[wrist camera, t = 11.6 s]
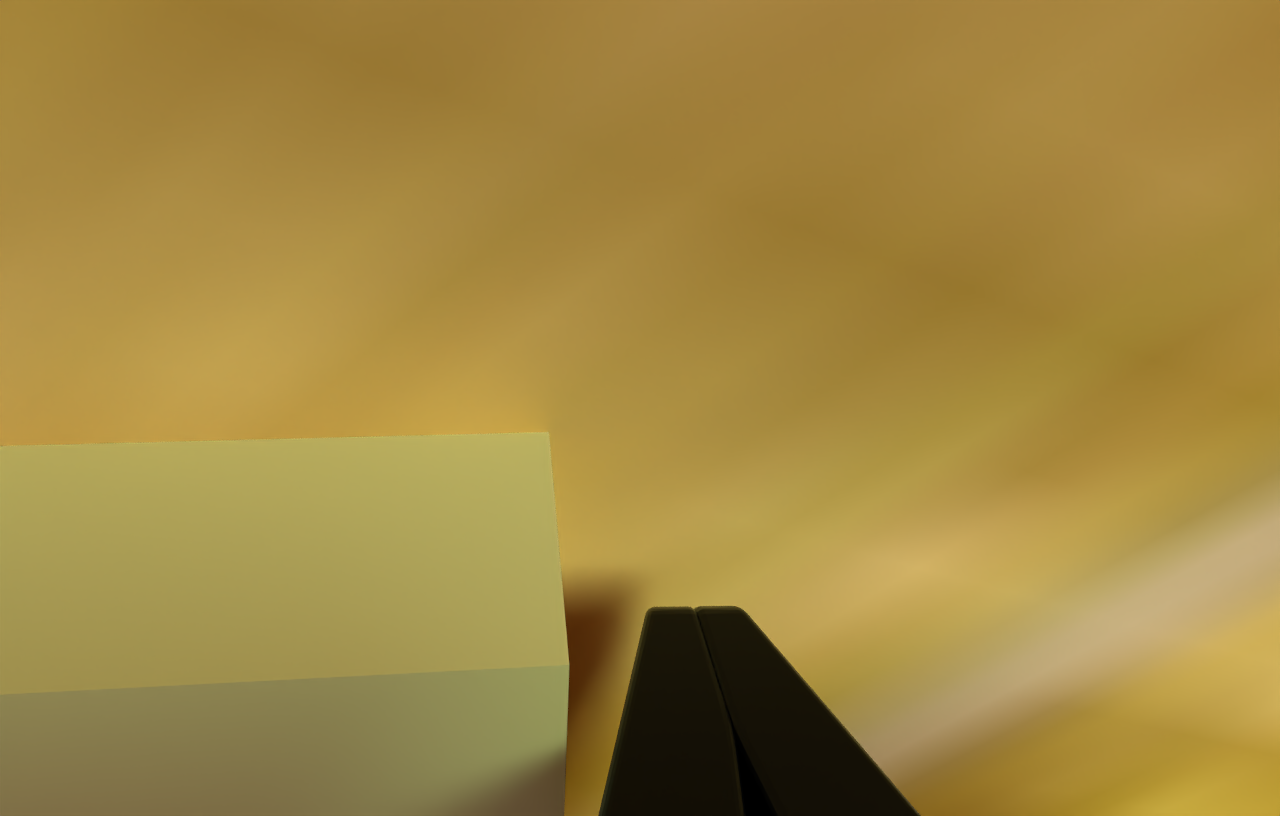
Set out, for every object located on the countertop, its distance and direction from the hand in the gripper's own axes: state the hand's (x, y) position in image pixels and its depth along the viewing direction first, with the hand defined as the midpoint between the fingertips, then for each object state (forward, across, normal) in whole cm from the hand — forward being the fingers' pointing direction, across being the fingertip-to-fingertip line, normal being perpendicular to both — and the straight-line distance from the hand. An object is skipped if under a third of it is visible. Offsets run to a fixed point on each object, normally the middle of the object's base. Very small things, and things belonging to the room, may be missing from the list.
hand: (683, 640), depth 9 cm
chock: (+2, +4, +1) cm, 5 cm away
